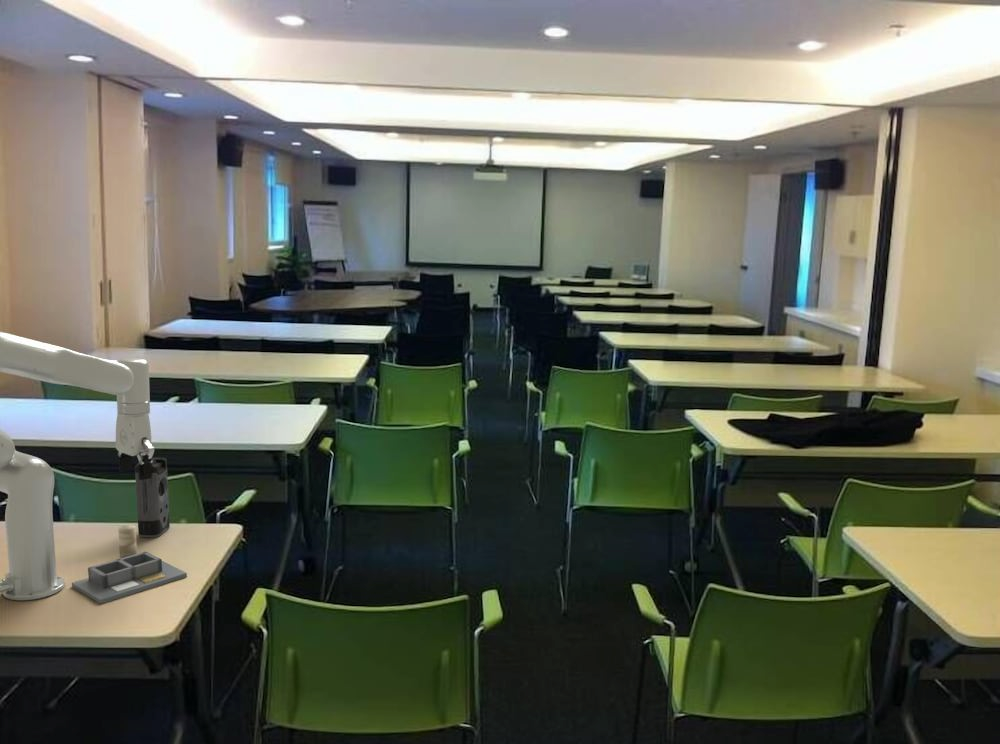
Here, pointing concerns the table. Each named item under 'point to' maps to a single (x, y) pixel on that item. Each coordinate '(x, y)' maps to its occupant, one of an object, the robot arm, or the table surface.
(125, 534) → the birch plug
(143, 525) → the electronic device
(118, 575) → the charging dock
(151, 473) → the robot arm
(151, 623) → the table surface
